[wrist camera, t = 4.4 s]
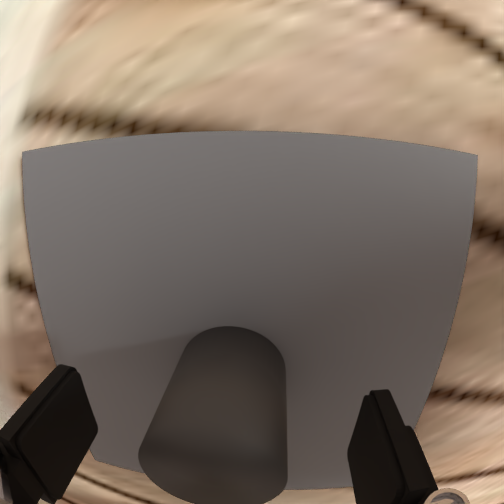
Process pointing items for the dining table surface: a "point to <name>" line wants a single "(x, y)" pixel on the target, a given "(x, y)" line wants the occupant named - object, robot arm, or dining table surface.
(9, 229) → the dining table surface
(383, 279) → the lid
